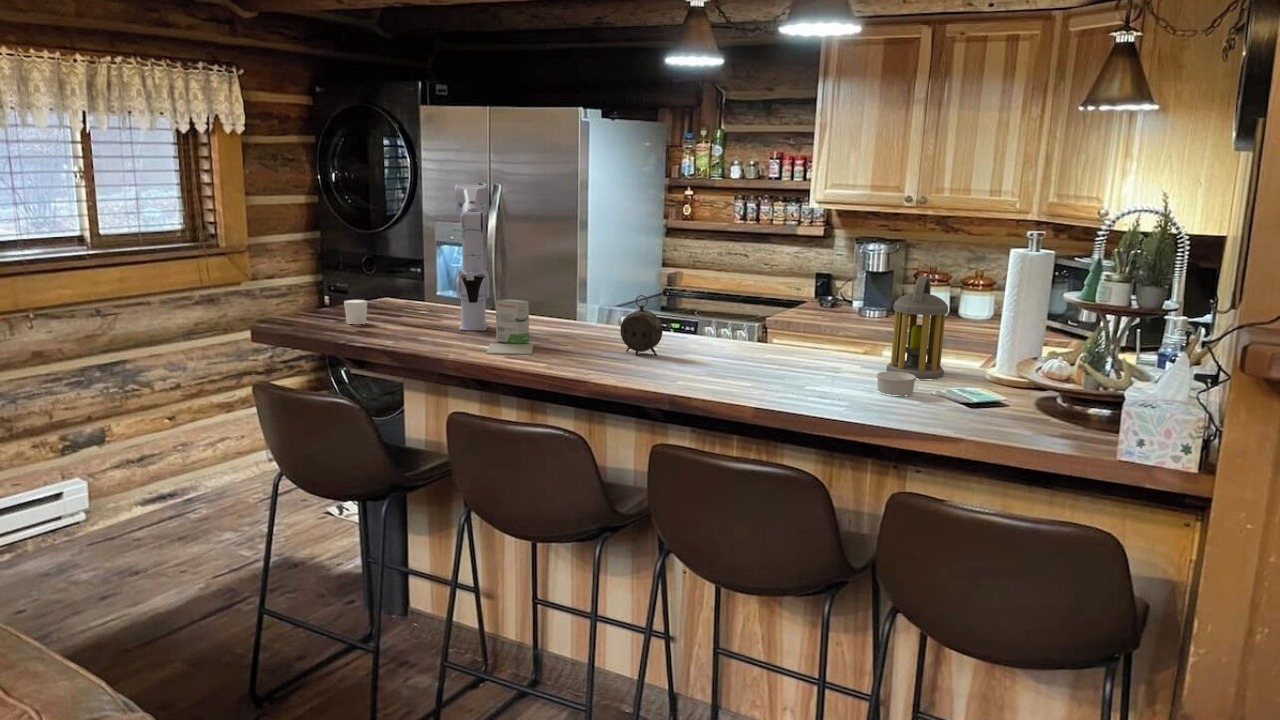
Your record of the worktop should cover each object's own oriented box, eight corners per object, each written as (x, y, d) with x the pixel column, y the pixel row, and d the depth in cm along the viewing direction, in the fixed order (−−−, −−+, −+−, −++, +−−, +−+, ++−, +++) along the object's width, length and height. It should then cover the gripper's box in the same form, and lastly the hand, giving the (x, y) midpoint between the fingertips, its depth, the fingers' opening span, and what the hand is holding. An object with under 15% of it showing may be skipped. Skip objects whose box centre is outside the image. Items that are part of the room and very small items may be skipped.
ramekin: (891, 399, 217) (893, 381, 216) (867, 390, 225) (869, 372, 224) (922, 396, 221) (924, 378, 220) (898, 387, 229) (899, 370, 228)
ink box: (530, 342, 268) (530, 300, 266) (518, 344, 264) (518, 302, 262) (507, 339, 273) (507, 298, 271) (495, 341, 269) (495, 299, 267)
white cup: (364, 325, 288) (363, 303, 286) (341, 325, 288) (340, 302, 286) (370, 322, 295) (370, 299, 293) (348, 321, 295) (347, 298, 293)
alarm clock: (662, 354, 258) (664, 295, 254) (654, 358, 253) (656, 298, 250) (625, 350, 262) (627, 292, 259) (617, 354, 257) (618, 294, 254)
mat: (490, 345, 265) (490, 343, 265) (533, 345, 266) (533, 344, 266) (486, 354, 253) (486, 352, 253) (531, 354, 254) (531, 353, 254)
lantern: (893, 365, 253) (901, 271, 247) (948, 372, 246) (957, 275, 241) (880, 375, 240) (888, 276, 235) (937, 382, 234) (947, 281, 229)
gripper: (461, 251, 275) (462, 298, 278) (454, 257, 261) (455, 306, 264) (486, 252, 276) (486, 298, 279) (480, 257, 262) (481, 306, 264)
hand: (473, 302), depth 271 cm, fingers closed
